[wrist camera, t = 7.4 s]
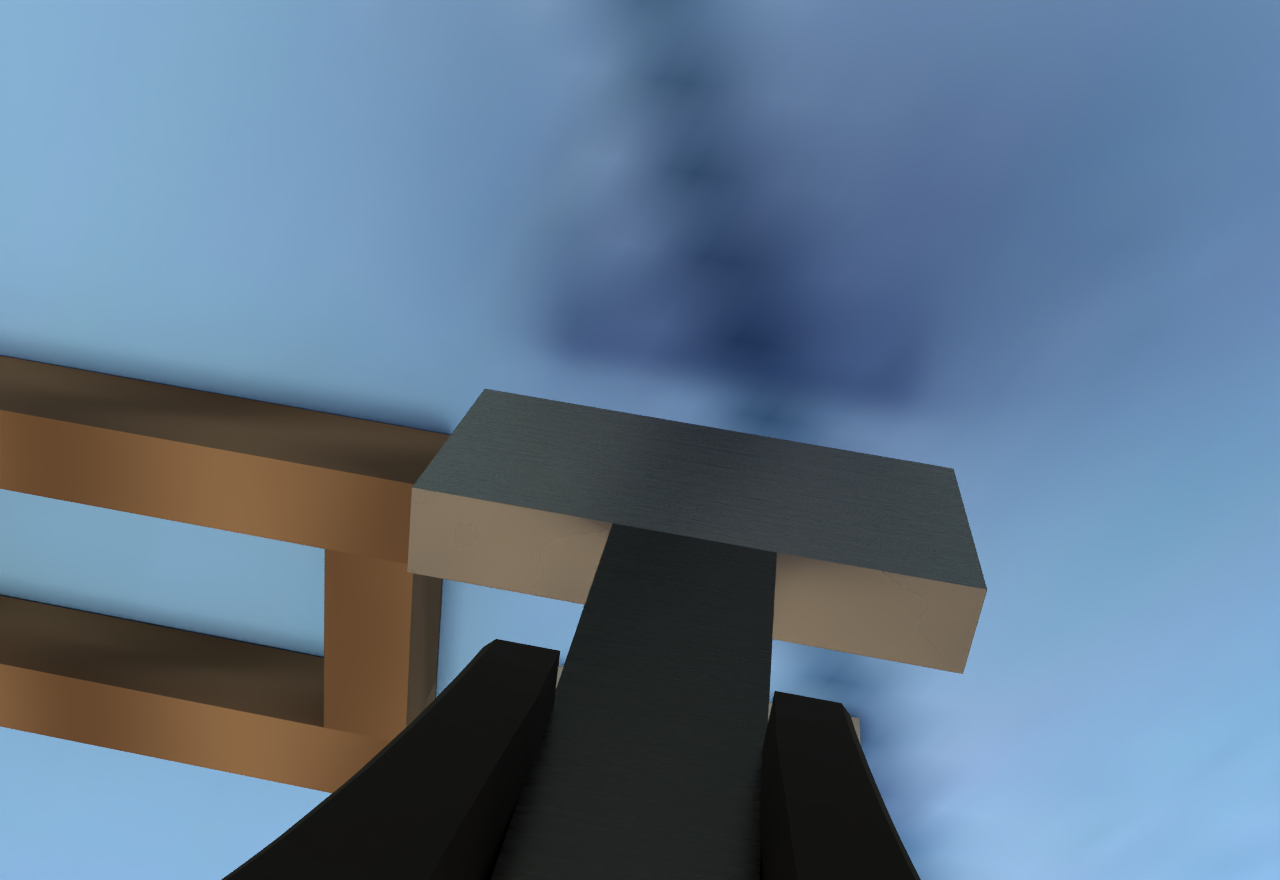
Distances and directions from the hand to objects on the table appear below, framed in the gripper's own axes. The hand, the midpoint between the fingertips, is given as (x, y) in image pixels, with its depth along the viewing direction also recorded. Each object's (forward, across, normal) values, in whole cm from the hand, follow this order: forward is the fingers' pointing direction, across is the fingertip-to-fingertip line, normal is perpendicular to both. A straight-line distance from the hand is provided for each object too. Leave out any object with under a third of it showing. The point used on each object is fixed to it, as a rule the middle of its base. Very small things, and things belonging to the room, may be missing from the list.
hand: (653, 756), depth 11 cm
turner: (+7, 0, 0) cm, 7 cm away
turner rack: (+10, +11, +6) cm, 16 cm away
